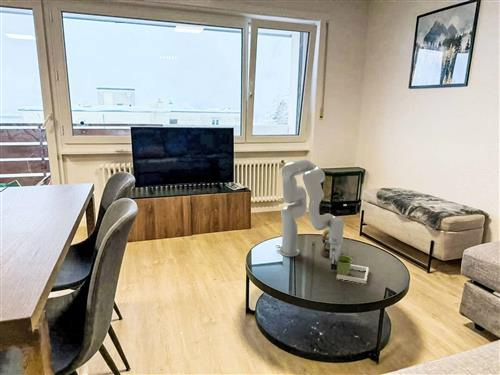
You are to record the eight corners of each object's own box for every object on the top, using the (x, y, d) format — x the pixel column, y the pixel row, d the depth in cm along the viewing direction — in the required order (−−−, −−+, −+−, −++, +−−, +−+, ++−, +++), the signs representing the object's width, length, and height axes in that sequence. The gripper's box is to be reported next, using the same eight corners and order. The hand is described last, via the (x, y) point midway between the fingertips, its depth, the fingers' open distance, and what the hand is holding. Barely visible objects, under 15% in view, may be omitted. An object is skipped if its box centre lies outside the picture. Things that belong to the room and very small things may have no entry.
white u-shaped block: (336, 279, 186) (336, 273, 185) (340, 266, 199) (341, 261, 198) (365, 284, 180) (366, 279, 179) (368, 271, 193) (368, 266, 192)
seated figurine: (340, 260, 207) (341, 234, 202) (320, 258, 209) (321, 233, 205) (338, 247, 224) (340, 223, 219) (320, 246, 226) (321, 222, 222)
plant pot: (354, 273, 192) (355, 259, 189) (346, 279, 185) (347, 265, 183) (340, 267, 198) (340, 253, 196) (331, 273, 192) (332, 259, 189)
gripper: (340, 246, 180) (338, 277, 185) (344, 235, 193) (342, 264, 198) (326, 243, 183) (324, 274, 188) (331, 233, 196) (329, 262, 201)
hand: (333, 269), depth 193 cm, fingers closed
